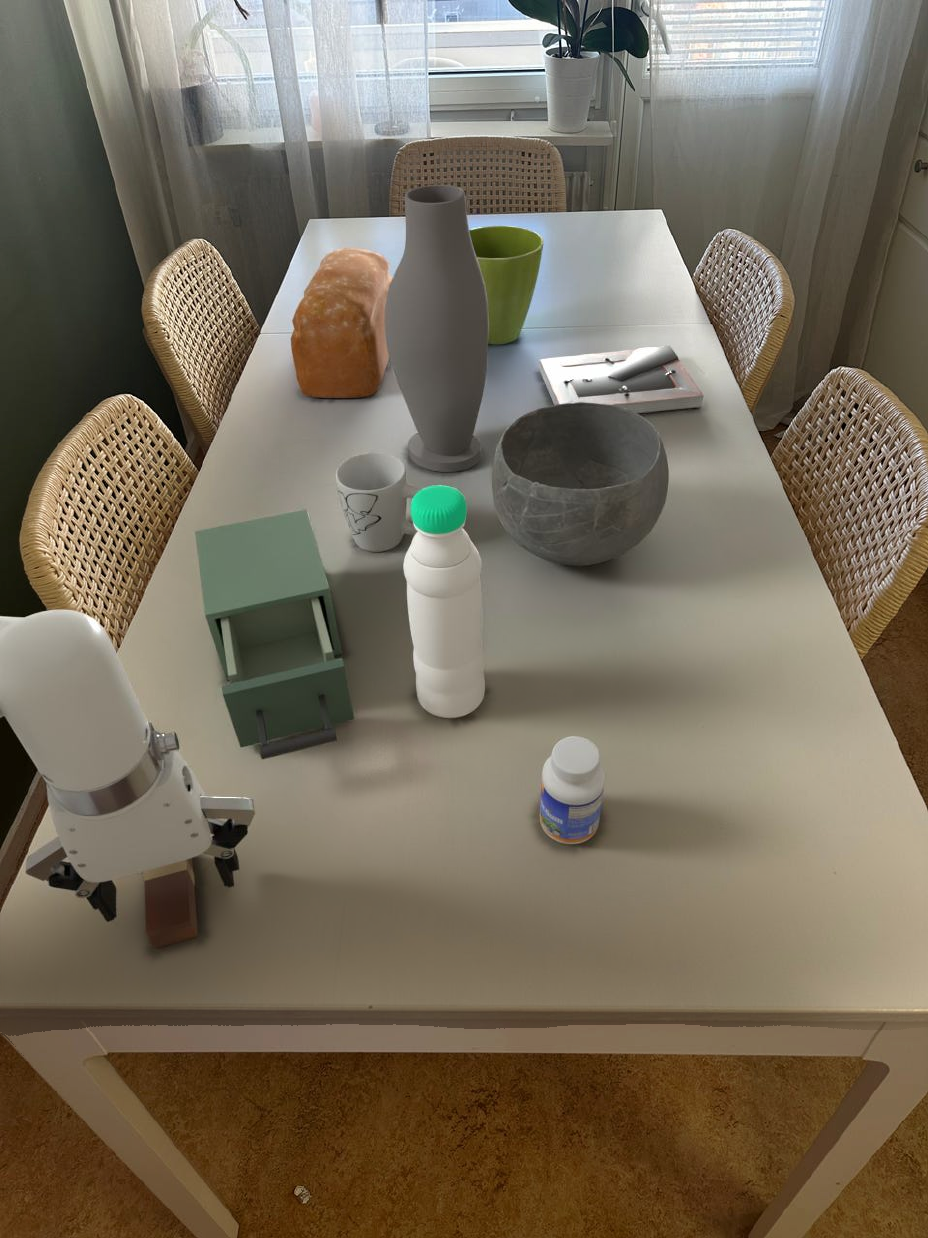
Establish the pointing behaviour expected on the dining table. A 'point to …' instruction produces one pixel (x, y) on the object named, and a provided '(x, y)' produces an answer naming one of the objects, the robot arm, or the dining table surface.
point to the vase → (439, 329)
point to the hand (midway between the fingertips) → (171, 888)
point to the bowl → (579, 481)
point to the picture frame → (623, 380)
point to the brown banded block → (170, 904)
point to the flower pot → (507, 276)
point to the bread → (342, 326)
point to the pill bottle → (572, 791)
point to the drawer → (283, 678)
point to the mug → (375, 499)
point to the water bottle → (445, 604)
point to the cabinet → (261, 571)
